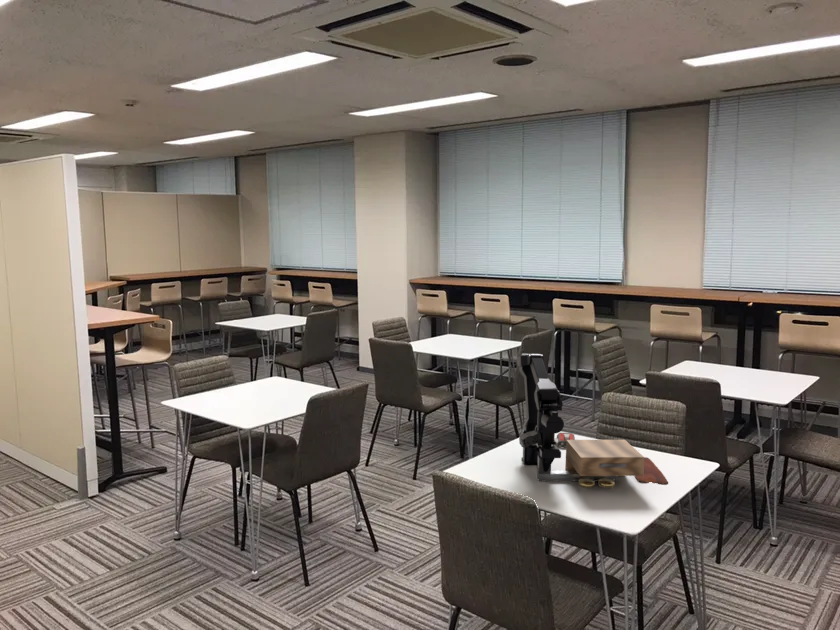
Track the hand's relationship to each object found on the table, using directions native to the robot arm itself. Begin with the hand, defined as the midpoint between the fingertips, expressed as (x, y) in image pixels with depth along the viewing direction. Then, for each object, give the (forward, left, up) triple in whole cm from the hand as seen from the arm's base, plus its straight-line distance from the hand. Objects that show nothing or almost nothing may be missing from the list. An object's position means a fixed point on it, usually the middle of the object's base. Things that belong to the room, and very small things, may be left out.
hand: (544, 470), depth 218 cm
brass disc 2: (+19, -5, -4) cm, 20 cm away
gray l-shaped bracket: (+11, 0, -3) cm, 11 cm away
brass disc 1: (+13, -5, -4) cm, 14 cm away
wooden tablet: (+37, +9, -4) cm, 39 cm away
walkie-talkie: (+15, +35, -4) cm, 39 cm away
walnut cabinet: (+18, -4, -3) cm, 19 cm away
